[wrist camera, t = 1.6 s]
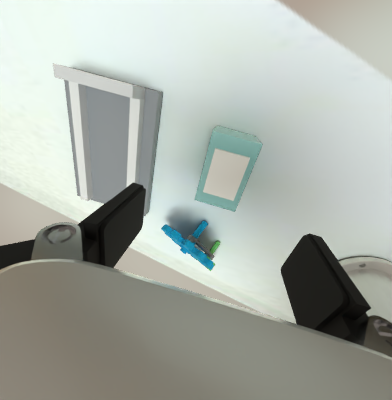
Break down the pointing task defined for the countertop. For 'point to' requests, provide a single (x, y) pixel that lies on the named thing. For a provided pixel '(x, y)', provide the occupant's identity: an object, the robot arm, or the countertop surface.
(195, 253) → the gear
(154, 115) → the rail base
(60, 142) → the countertop surface
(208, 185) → the block
